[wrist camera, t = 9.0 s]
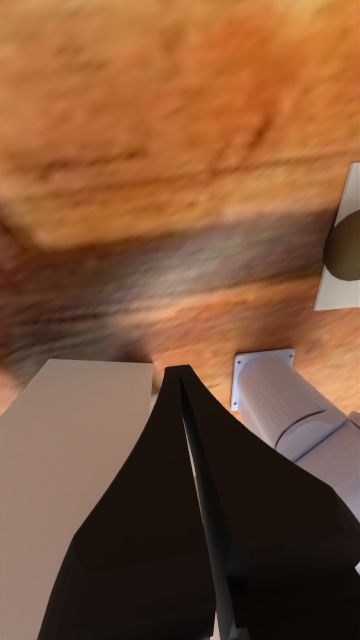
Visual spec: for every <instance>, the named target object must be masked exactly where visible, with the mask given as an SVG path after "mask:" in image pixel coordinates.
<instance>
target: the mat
mask: <svg viewBox="0 0 360 640" xmlns="http://www.w3.org/2000/svg"><path fill="white" fill-rule="evenodd" d="M357 210H360V163H352V164H350V167H349V171H348V175H347V179H346V183H345V187H344V191H343V194H342V198H341V202H340V206H339V210H338V214H337V218H336V222H335V226H336V225H337V224H338V223H339V222H340V221H341V220H342V219H344V218H345V217H346V216H347V215H349V214H351V213H353V212H355V211H357ZM335 226H334V228H335ZM352 307H360V280H356V281H344V280H339V279H337V278H336V277H334V276H332V275H331V274H330V272H329V271H328V270H327V268H326V266H325V265H324V268H323V272H322V276H321V280H320V284H319V288H318V292H317V296H316V300H315V304H314V307H313V310H314V311H319V310H330V309H341V308H352Z"/></svg>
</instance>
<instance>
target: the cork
mask: <svg viewBox="0 0 360 640" xmlns="http://www.w3.org/2000/svg"><path fill="white" fill-rule="evenodd" d="M324 263H325V266H326V268H327V270H328V271H329V272H330V274H331V275H332V276H334V277H336V278H337V279H339V280H344V281H356V280H360V210H357V211H355V212H353V213H351V214H349V215H347V216H346V217H345V218H344V219H342V220H341V221H340V222H339V223H338V224H337V225H336V226H335V228H334V229H333V230H332V231H331V233H330V235H329V237H328V239H327V241H326V243H325V248H324Z"/></svg>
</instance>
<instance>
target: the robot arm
mask: <svg viewBox="0 0 360 640" xmlns="http://www.w3.org/2000/svg"><path fill="white" fill-rule="evenodd" d="M294 356H295V350H294V349H292V348H290V349H281V350H272V351H263V352H254V353H245V354H238V355H236V356H235V361H234V373H233V384H232V396H231V410H232V411H239V413H240V415H241V417H242V419H243V421H244V423H245V425H246V427H247V428H246V427H245V426H244V425H243V424H242V423H241V422H239V421H238V420H237V419H236V418H235V417H234V416H233V415H232V414H231V413H230V412H229V411H228V410H226V409H225V408H224V407H223V406H222V404H221V403H220V402H219V401H218V400H217V399H216V398H215V397H214V396H213V395H212V394H211V393H210V391H209V390H208V389H207V388H206V387H205V385H204V384H203V383H202V382H201V380H200V379H199V378H198V376H197V375H196V374H195V372H194V371H193V369H192V367H191V366H190V365H189V364H188V365H180V366H171V367H166V368H165V373H164V378H163V382H162V386H161V389H160V392H159V395H158V398H157V400H156V403H155V405H154V408H153V410H152V412H151V415H150V417H149V419H148V421H147V423H146V425H145V427H144V429H143V431H142V433H141V435H140V437H139V439H138V440H137V442H136V444H135V446H134V447H133V449H132V451H131V453H130V454H129V456H128V458H127V459H126V461H125V462H124V464H123V466H122V467H121V469H120V470H119V472H118V473H117V475H116V476H115V478H114V479H113V481H112V482H111V484H110V486H109V487H108V488H107V490H106V491H105V493H104V494H103V496H102V497H101V498H100V500H99V501H98V503H97V504H96V505H95V507H94V508H93V509H92V511H91V512H90V514H89V515H88V516H87V518H86V519H85V520H84V522H83V523H82V525H81V526H80V527H79V529H78V530H77V531H76V533H75V534H74V536H73V538H72V540H71V542H70V545H69V547H68V549H67V552H66V554H65V557H64V559H63V562H62V564H61V567H60V569H59V572H58V575H57V577H56V580H55V582H54V585H53V588H52V591H51V594H50V597H49V601H48V604H47V607H46V611H45V614H44V618H43V621H42V624H41V628H40V631H39V634H38V638H37V640H210V637H211V636H213V631H214V622H215V613H217V620H218V627H219V633H220V639H221V640H360V413H358V412H356V411H353V412H351V413H350V414H349V416H347V415H346V414H345V413H343V412H342V411H340V410H339V409H338V408H337V407H336V406H335V405H334V404H332V403H331V402H330V401H329V400H328V399H327V398H326V397H325V396H323V395H322V394H321V393H320V392H319V391H318V390H317V389H316V388H314V387H313V386H312V385H311V384H310V383H309V382H308V381H307V380H305V379H304V378H303V377H302V376H301V375H300V374H299V373H298V372H296V371H295V370H294V369H293V368H292V364H293V360H294ZM238 361H240V362H238ZM182 415H183V416H182ZM183 419H184V422H183ZM184 423H185V428H186V432H187V436H188V440H189V445H190V449H191V453H192V457H193V462H194V467H195V473H196V479H197V486H198V492H199V498H200V505H201V511H202V517H201V513H200V507H199V502H198V497H197V492H196V487H195V482H194V476H193V471H192V466H191V461H190V455H189V450H188V444H187V439H186V433H185V428H184ZM202 518H203V522H202ZM203 524H204V527H203ZM204 531H205V532H204Z"/></svg>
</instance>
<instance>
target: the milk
mask: <svg viewBox="0 0 360 640" xmlns="http://www.w3.org/2000/svg"><path fill="white" fill-rule="evenodd" d="M152 374H153V364H151V363H129V362H108V361H86V360H64V359H49V360H48V361H47V362H46V363H45V364H44V366H43V367H42V368H41V369H40V370H39V372H38V373H37V374H36V375H35V376H34V378H33V379H32V380H31V381H30V382H29V384H28V385H27V386H26V387H25V388H24V389H23V391H22V392H21V393H20V394H19V395H18V397H17V398H16V399H15V400H14V401H13V403H12V404H11V405H10V406H9V407H8V409H7V410H6V411H5V412H4V413H3V415H2V416H1V417H0V640H37V638H38V634H39V631H40V628H41V624H42V621H43V618H44V614H45V611H46V607H47V604H48V601H49V597H50V594H51V591H52V588H53V585H54V582H55V580H56V577H57V575H58V572H59V569H60V567H61V564H62V562H63V559H64V557H65V554H66V552H67V549H68V547H69V545H70V542H71V540H72V538H73V536H74V534H75V533H76V531H77V530H78V529H79V527H80V526H81V525H82V523H83V522H84V520H85V519H86V518H87V516H88V515H89V514H90V512H91V511H92V509H93V508H94V507H95V505H96V504H97V503H98V501H99V500H100V498H101V497H102V496H103V494H104V493H105V491H106V490H107V488H108V487H109V486H110V484H111V482H112V481H113V479H114V478H115V476H116V475H117V473H118V472H119V470H120V469H121V467H122V466H123V464H124V462H125V461H126V459H127V458H128V456H129V454H130V453H131V451H132V449H133V447H134V446H135V444H136V442H137V440H138V439H139V437H140V435H141V433H142V431H143V429H144V427H145V425H146V423H147V421H148V419H149V413H150V400H151V387H152Z"/></svg>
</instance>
